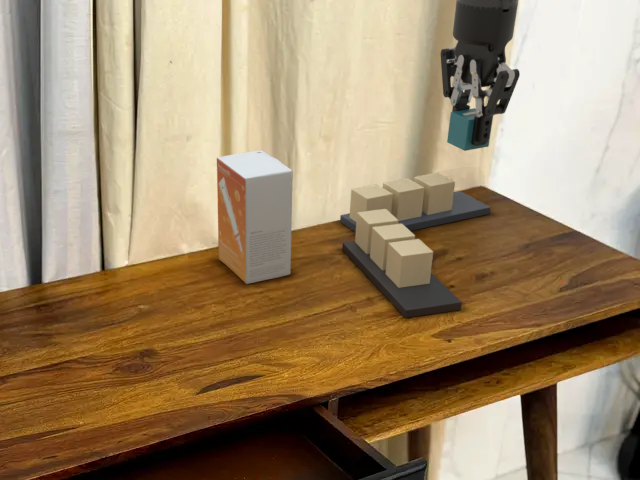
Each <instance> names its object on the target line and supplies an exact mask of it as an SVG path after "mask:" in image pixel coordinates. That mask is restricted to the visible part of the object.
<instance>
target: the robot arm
mask: <svg viewBox="0 0 640 480" xmlns="http://www.w3.org/2000/svg"><path fill="white" fill-rule="evenodd" d="M518 5H519V0H456V2H455V10H454V20H453V28H452V37H453V38H454V39H455V40H456V41H457V43H456V45H455V47H447V48H442V49H441V50H440V68H441V80H442V94H443V96H444V98H448V99H449V100H450V101H449V102H450V104H451V107H452V108H451V109H452V110H451V112H454V111H460V110H467V109H471V105H469V104H470V103H471V100H472V98H474V99H475V109H476V115H477V116H475V117H474V126H473V133H472V141H471V143H472V144H473V145H475V146H480V145H485V144H486V143H487V141H488V139H489V136H490V137H491V134H490V129H491V130H492V127H491V123H492V124H493V120H492V117H493V118H494V116H495V115H503V114H505V113H506V111H507V109H508V107H509V104H510V101H511V99H512V96H513V93H514V91H515V88H516V86H517V84H518V81H519V78H520V75H521V74H520V70H519V68H515V69H512V68H510V66H509V65H508V64H507V57H506V46H507V44H509V43H510V42H511V41H512V40H513V37H514V33H515V27H516V26H515V25H516V19H517V13H518ZM452 77H453V80H451V79H452ZM451 81H452V83H451ZM488 87H489V88H488ZM482 88H487V89H482ZM486 97H487V103H486V105H485V98H486Z"/></svg>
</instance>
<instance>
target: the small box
mask: <svg viewBox="0 0 640 480" xmlns="http://www.w3.org/2000/svg"><path fill="white" fill-rule="evenodd" d="M293 172H294V171H293V170H292V169H291V168H290V167H288V166H287V165H286V164H284V163H283V162H281V160H279V159H277V158H275V157H273V156H272V155H270V154H269V153H267V152H265V150H261V149H260V150H252V151H245V152H239V153H234V154H228V155H222V156H218V157H216V181H217V183H216V185H217V186H216V188H217V193H216V194H217V228H218V229H217V241H218V242H217V243H218V245H217V248H218V249H217V251H218V260H219V261H220V262H222V263H223V264H224V265H226V267H227V268H229V269H230V271H232V272H233V273H234V274H235V275H236V276H237V277H238V278H239V279H240V280H241V281H243V283H244V284H246V285H249V284H254V283H259V282H263V281H268V280H273V279H277V278H282V277H285V276H289V275H291V273H292V272H291V265H292V264H291V263H292V262H291V261H292V224H293V223H292V222H293V221H292V219H293V182H294V181H293V177H294V176H293Z"/></svg>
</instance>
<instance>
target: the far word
mask: <svg viewBox="0 0 640 480" xmlns="http://www.w3.org/2000/svg"><path fill="white" fill-rule="evenodd" d="M455 185H456V181H455V180H453V179H452V178H449V177H448V176H446V175H444V174H442V173H440V172H432V173H427V174H422V175H416V176H414V177H413V180H412V179H410V178H408V177H406V178H401V179H396V180H391V181H385V182H383V183H382V186H381V185H379V184H377V183H376V184H370V185H365V186H360V187H354V188H351V189H350V204H349V213H344V214H340V218H339V219H340V220H339V222H340V223H341V224H342V225H344V226H345V227H347V228H349V229H350V230H352V231H353V232H354V233H356V220H357V212H364V211H372V210H381V209H387V210H388V211H389V212H390V213H391V214H392V215H393V216H394V217H395V218H396V219H398V224H403V225H404V226H405V227H406V228H407V229H409V230H410V231H411V232H412V231H416V230H421V229H426V228H430V227H435V226H439V225H444V224H449V223H455V222H459V221H463V220H467V219H472V218H477V217H482V216H486V215H490V213H491V206H489V205H487V204H485V203H484V202H482V201H480V200H478V199H476V198H474V197H472V196H470V195H468V194H467V193H465V192H463V191H462V190H458V191H455V187H456V186H455Z"/></svg>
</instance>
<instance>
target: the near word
mask: <svg viewBox="0 0 640 480" xmlns="http://www.w3.org/2000/svg"><path fill="white" fill-rule="evenodd" d="M354 238H355V239H354V240H352V241H351V240H350V241H344V242H342V244H341V245H342V246H341V247H342V248H341V250H342V251H343V252H344V253H345V254H346V256H347V257H348V258H349V259H350V260H351V261H352V262H353V263H354V264H355V265H356V266H357V268H358V269H360V271H361V272H362V273H363V274H364V275H365V276H366V278H368V280H370V282H371V283H372V284H373V285H374V286H375V287H376V288H377V290H379V291H380V292H381V294H382V295H384V297H385V298H386V299H387V300H388V301H389V302H390V303H391V304H392V306H394V307H395V309H396V310H397V311H398V312H399V313H400V314H401V315H402V316H403V318H405V319H409V318H416V317H423V316H429V315H434V314H435V315H436V314H443V313H448V312H455V311H461V310H462V303H463V302H462V301H461V300H460V299H459V298H458V297H457V296H456V295H455V294H454V293H453V292H452V291H451V290H450V289H449V288H448V287H447V286H446V285H445V284H443V283H442V281H441V280H439V278H437V277H436V276H435V275H434V274H433V273H432V266H433V259H434V258H433V257H434V250H433V249H431V248H430V247H428V245H426V244H425V243H424V242H423V241H422V240H421V239H420V238H416V234H414V233H413V232H412V231H410V230H409V229H407V228H406V227H405V226H404V225H403V224H398V219H396V218H395V217H394V216H393V215H392V214H391V213H390V212H389V211H388V210H387V209H381V210H372V211H364V212H357V220H356V232H355V237H354Z"/></svg>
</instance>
